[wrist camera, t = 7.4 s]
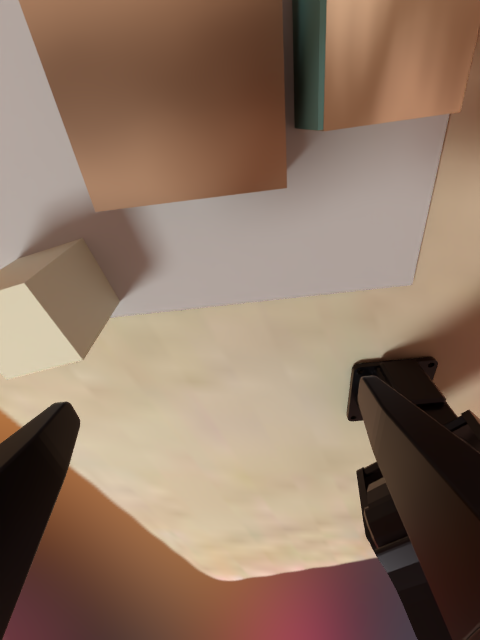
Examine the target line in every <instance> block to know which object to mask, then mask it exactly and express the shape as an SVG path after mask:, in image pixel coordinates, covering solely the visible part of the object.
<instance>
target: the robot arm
mask: <svg viewBox="0 0 480 640" xmlns="http://www.w3.org/2000/svg"><path fill="white" fill-rule="evenodd" d="M429 363H430V364H429ZM437 365H438V362H437V361H436V360H435V359H434V358H433V357H423V358H413V359H403V360H393V361H382V362H372V363H362V364H356V365H354V366H353V367H352V372H351V381H350V389H349V398H348V406H347V418H348V420H349V421H362V420H364V423H365V427H366V430H367V434H368V437H369V440H370V444H371V447H372V450H373V453H374V455H375V458H376V460H377V462H375V463H373V464H371V465H369V466H367V467H365V468H361V469H359V470H357V471H356V472H357V479H358V487H359V494H360V501H361V508H362V515H363V522H364V528H365V534H366V537H367V539H368V541H369V542H370V544H371V547H372V549H373V550H374V552H375V554H376V556H377V558H378V559H379V561H380V562H381V563H382V565H383V567H384V568H385V570H386V571H387V573H388V575H389V577H390V578H391V581H392V582H393V584H394V586H395V588H396V590H397V592H398V594H399V597H400V599H401V601H402V603H403V605H404V608H405V610H406V613H407V615H408V618H409V620H410V623H411V625H412V627H413V630H414V632H415V635H416V637H417V639H418V640H480V419H479V418H478V417H477V416H476V415H475V414H473V413H472V412H471V411H470V410H467V411H466V412H464V413H462V414H461V415H462V416H460V417H457V415H456V414H455V413H454V412H453V410H452V409H451V408H450V406H449V405H448V404H447V402H446V398H445V397H444V396H443V394H442V393H441V392H440V390H439V389H438V388H437V387H436V385H435V384H434V383H433V381H432V380H433V377H434V374H435V371H436V368H437ZM358 370H359V371H358ZM79 428H80V419H79V417H78V415H77V413H76V412H75V410H74V408H73V407H72V405H71V404H70V403H69V402H58V403H54V404H52V405H51V406H50V407H48V408H47V409H46V410H44V411H43V412H42V413H40V414H39V415H38V416H36V417H35V418H34V419H32V420H31V421H30V422H28V423H27V424H26V425H24V426H23V427H22V428H21V429H19V430H18V431H17V432H15V433H14V434H13V435H11V436H10V437H9V438H7V439H6V440H5V441H3V442H2V443H1V444H0V640H2V639H3V636H4V633H5V631H6V628H7V626H8V623H9V621H10V618H11V615H12V613H13V610H14V608H15V605H16V602H17V600H18V597H19V595H20V592H21V589H22V587H23V585H24V582H25V579H26V577H27V574H28V572H29V569H30V567H31V564H32V561H33V559H34V556H35V554H36V551H37V549H38V546H39V543H40V541H41V538H42V536H43V533H44V530H45V528H46V525H47V523H48V520H49V518H50V515H51V513H52V510H53V507H54V505H55V502H56V500H57V497H58V494H59V492H60V489H61V487H62V484H63V482H64V479H65V476H66V473H67V470H68V467H69V464H70V460H71V456H72V453H73V449H74V446H75V442H76V439H77V435H78V431H79Z"/></svg>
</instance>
